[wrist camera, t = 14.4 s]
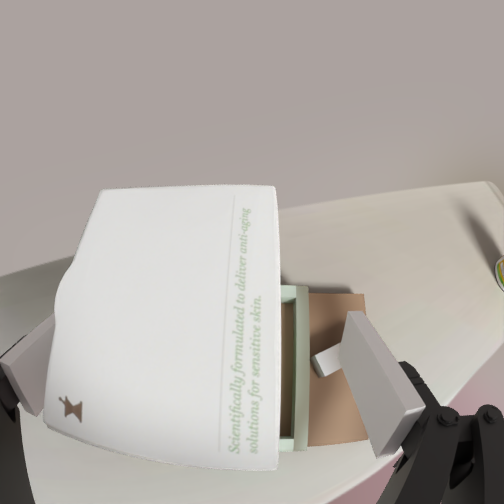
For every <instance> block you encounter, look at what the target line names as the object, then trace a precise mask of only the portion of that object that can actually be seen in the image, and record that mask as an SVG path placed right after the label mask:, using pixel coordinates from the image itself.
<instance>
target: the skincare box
mask: <svg viewBox="0 0 504 504" xmlns="http://www.w3.org/2000/svg"><path fill="white" fill-rule="evenodd" d="M54 312H55V330H54V335H53V341H52V346H51V352H50V357H49V364H48V371H47V379H46V388H45V398H44V410H43V421H44V423H45V424H46V425H47V427H48V428H50V429H52V430H54V431H56V432H58V433H61V434H63V435H65V436H68V437H70V438H73V439H76V440H78V441H81V442H84V443H87V444H89V445H92V446H95V447H99V448H102V449H105V450H109V451H112V452H116V453H120V454H123V455H127V456H131V457H136V458H140V459H145V460H150V461H155V462H161V463H167V464H173V465H180V466H188V467H197V468H208V469H222V470H276V469H278V459H279V436H280V404H281V286H280V245H279V224H278V208H277V197H276V189H275V187H274V186H265V185H264V186H263V185H197V186H196V185H194V186H153V187H152V186H151V187H129V188H110V189H102V190H101V191H100V193H99V195H98V198H97V200H96V203H95V205H94V207H93V209H92V212H91V214H90V217H89V219H88V221H87V224H86V226H85V229H84V231H83V234H82V236H81V239H80V242H79V244H78V247H77V250H76V253H75V255H74V258H73V261H72V264H71V266H70V267H69V268H68V269H67V271H66V272H65V274H64V276H63V278H62V280H61V282H60V284H59V287H58V290H57V293H56V297H55V304H54Z"/></svg>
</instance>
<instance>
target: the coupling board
mask: <svg viewBox="0 0 504 504" xmlns="http://www.w3.org/2000/svg"><path fill="white" fill-rule="evenodd" d="M280 286H281V404H280V436H279V452H288V451H307V447H310V446H323V445H333V444H341V443H349V442H356V441H362V440H368V438H369V437H368V434H367V431H366V428H365V426H364V423H363V420H362V418H361V415H360V413H359V410H358V407H357V405H356V402H355V400H354V397H353V394H352V392H351V389H350V387H349V384H348V382H347V379H346V377H345V374H344V372H343V369H342V367H341V364H340V362H339V359H338V353H339V349H340V345H341V340H342V336H343V332H344V327H345V323H346V318H347V313H348V311H363V313H364V314H365V315H366V311H365V301H364V294H336V293H308V286H290V285H280Z"/></svg>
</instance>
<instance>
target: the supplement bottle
mask: <svg viewBox="0 0 504 504" xmlns="http://www.w3.org/2000/svg"><path fill="white" fill-rule="evenodd" d="M495 274H496V278H497V281H498V284H499V285H500V287H501V288H502V290H503V291H504V256H502V257H501V258H500V259H499V260H498V261H497V262H496V265H495Z"/></svg>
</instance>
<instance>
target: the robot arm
mask: <svg viewBox="0 0 504 504" xmlns="http://www.w3.org/2000/svg"><path fill="white" fill-rule="evenodd" d="M54 330H55V312H54V313H53V314H51V315H50V316H49V317H48V318H46V319H45V320H44V321H43V322H42V323H40V324H39V325H38V326H37V327H36V328H35V329H33V330H32V331H31V332H30V333H29V334H27V335H25V336H23V337H22V338H21V339H20V340H19V341H18V342H17V343H15V344H14V345H13V346H12V348H10V349H9V350H7V351H6V352H5V353H4V354H3V355H2V356H1V357H0V504H35V501H34V498H33V494H32V490H31V486H30V482H29V478H28V473H27V468H26V463H25V457H24V450H23V443H22V435H21V425H20V411H19V408H18V406H17V404H18V403H19V401H20V403H21V404H22V406H23V408H24V409H25V411H27V412H28V413H30V414H32V415H34V416H36V417H37V416H38V415H39V413H40V412H41V411H42V409H43V408H44V398H45V388H46V379H47V371H48V364H49V357H50V352H51V346H52V341H53V335H54ZM338 359H339V362H340V364H341V367H342V369H343V372H344V374H345V377H346V379H347V382H348V384H349V387H350V389H351V392H352V394H353V397H354V400H355V402H356V405H357V407H358V410H359V413H360V415H361V418H362V420H363V423H364V426H365V428H366V431H367V434H368V437H369V439H370V442H371V445H372V448H373V450H374V453H375V456H376V459H377V458H381V457H385V456H389V455H393V454H395V453H396V451H397V450H398V449H399V447H400V446H401V447H402V449H403V451H404V453H403V454H402V456H401V457H400V458H399V460H398V461H397V462H396V463H395V465H394V466H393V467H394V468H395V467H396V468H395V470H394V472H393V474H392V476H391V478H390V480H389V482H388V484H387V486H386V487H385V489H384V491H383V493H382V495H381V496H380V498H379V500H378V502H377V503H376V504H440V503H441V504H504V418H503V415H502V413H501V411H500V410H499V409H498V408H497V407H495V406H493V405H483V406H481V407H480V408H479V409H478V411H477V413H476V414H475V415H469V416H468V415H467V416H460V415H459V413H458V412H457V411H455V410H454V409H452V408H450V407H446V406H440V404H439V403H438V401H437V400H436V398H435V397H434V395H433V394H432V392H431V391H430V389H429V388H428V387H427V385H426V384H424V381H423V379H422V378H421V377H420V375H419V374H418V372H417V371H416V369H415V368H414V367H413V366H411V365H410V364H409V363H407V362H406V361H403V362H397V360H396V359H395V357H394V356H393V354H392V353H391V351H390V350H389V348H388V347H387V345H386V344H385V342H384V341H383V340H382V338H381V337H380V335H379V334H378V332H377V331H376V330H375V328H374V327H373V325H372V324H371V322H370V321H369V320H368V318H367V317H366V315H365V314H364V313H363V311H348V313H347V318H346V323H345V327H344V332H343V336H342V340H341V345H340V349H339V353H338ZM441 500H442V501H441Z"/></svg>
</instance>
